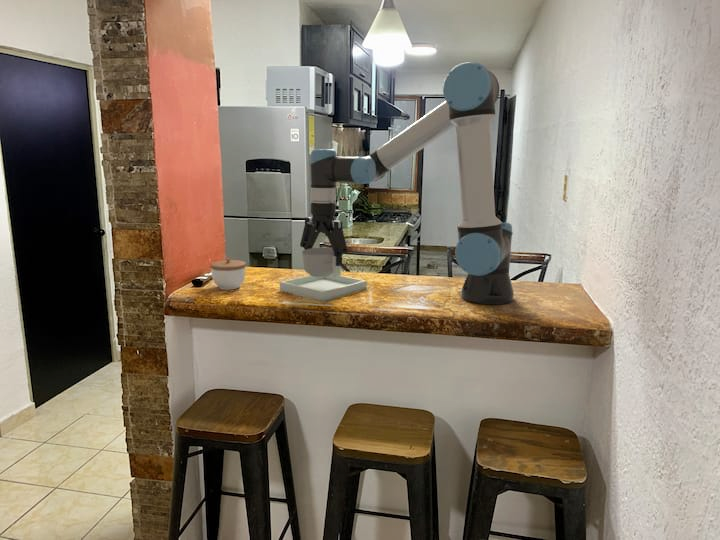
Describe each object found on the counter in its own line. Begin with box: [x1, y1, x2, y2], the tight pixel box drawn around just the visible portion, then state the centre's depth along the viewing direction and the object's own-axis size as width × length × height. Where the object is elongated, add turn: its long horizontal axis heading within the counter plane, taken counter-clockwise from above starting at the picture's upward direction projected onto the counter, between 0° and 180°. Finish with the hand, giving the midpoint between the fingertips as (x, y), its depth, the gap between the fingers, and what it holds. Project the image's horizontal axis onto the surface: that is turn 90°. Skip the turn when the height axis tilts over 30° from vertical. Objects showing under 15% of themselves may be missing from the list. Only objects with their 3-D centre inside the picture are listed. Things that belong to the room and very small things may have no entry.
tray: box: [279, 274, 368, 303], centre depth 167 cm, size 19×20×3 cm
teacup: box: [301, 246, 335, 277], centre depth 166 cm, size 14×11×8 cm
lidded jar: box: [210, 257, 247, 291], centre depth 168 cm, size 11×11×9 cm
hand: (323, 273), depth 166 cm, fingers closed on teacup, 11 cm apart
